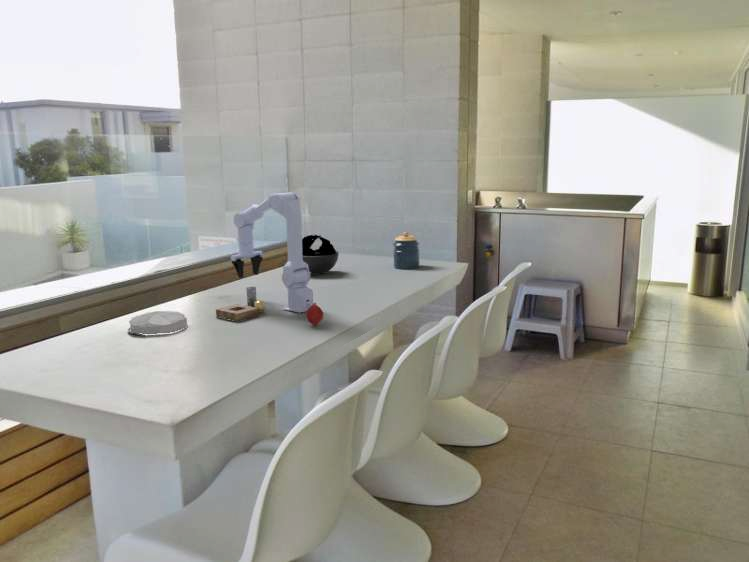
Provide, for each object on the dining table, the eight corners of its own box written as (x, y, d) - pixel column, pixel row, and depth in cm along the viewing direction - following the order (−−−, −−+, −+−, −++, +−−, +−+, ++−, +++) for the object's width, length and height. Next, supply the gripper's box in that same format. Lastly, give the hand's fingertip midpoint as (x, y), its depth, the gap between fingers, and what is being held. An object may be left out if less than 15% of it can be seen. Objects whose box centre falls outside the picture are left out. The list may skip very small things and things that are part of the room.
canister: (390, 266, 333) (389, 231, 329) (414, 263, 336) (413, 229, 333) (398, 270, 321) (397, 234, 317) (423, 268, 324) (422, 232, 321)
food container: (185, 320, 242) (183, 302, 240) (190, 332, 223) (188, 312, 222) (127, 327, 235) (125, 309, 234) (128, 341, 216) (125, 320, 215)
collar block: (258, 315, 242) (258, 307, 241) (237, 322, 234) (236, 313, 233) (238, 311, 249) (237, 303, 248) (216, 317, 242) (215, 309, 241)
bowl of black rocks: (301, 270, 330) (299, 233, 326) (341, 269, 329) (339, 231, 325) (295, 278, 310) (292, 238, 306) (337, 277, 309) (335, 237, 305)
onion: (308, 328, 222) (306, 305, 221) (305, 324, 228) (304, 301, 226) (325, 326, 224) (323, 303, 222) (321, 322, 229) (320, 300, 228)
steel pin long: (259, 307, 255) (257, 287, 253) (251, 309, 252) (250, 289, 250) (253, 306, 257) (251, 286, 255) (245, 308, 254) (244, 288, 253)
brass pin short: (266, 312, 246) (265, 301, 245) (259, 314, 243) (258, 303, 242) (260, 311, 248) (259, 300, 247) (253, 313, 245) (252, 301, 245)
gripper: (253, 239, 270) (255, 272, 273) (224, 244, 260) (227, 278, 262) (264, 240, 266) (267, 273, 269) (236, 245, 255) (238, 279, 258)
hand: (248, 275), depth 265 cm, fingers open, 7 cm apart
